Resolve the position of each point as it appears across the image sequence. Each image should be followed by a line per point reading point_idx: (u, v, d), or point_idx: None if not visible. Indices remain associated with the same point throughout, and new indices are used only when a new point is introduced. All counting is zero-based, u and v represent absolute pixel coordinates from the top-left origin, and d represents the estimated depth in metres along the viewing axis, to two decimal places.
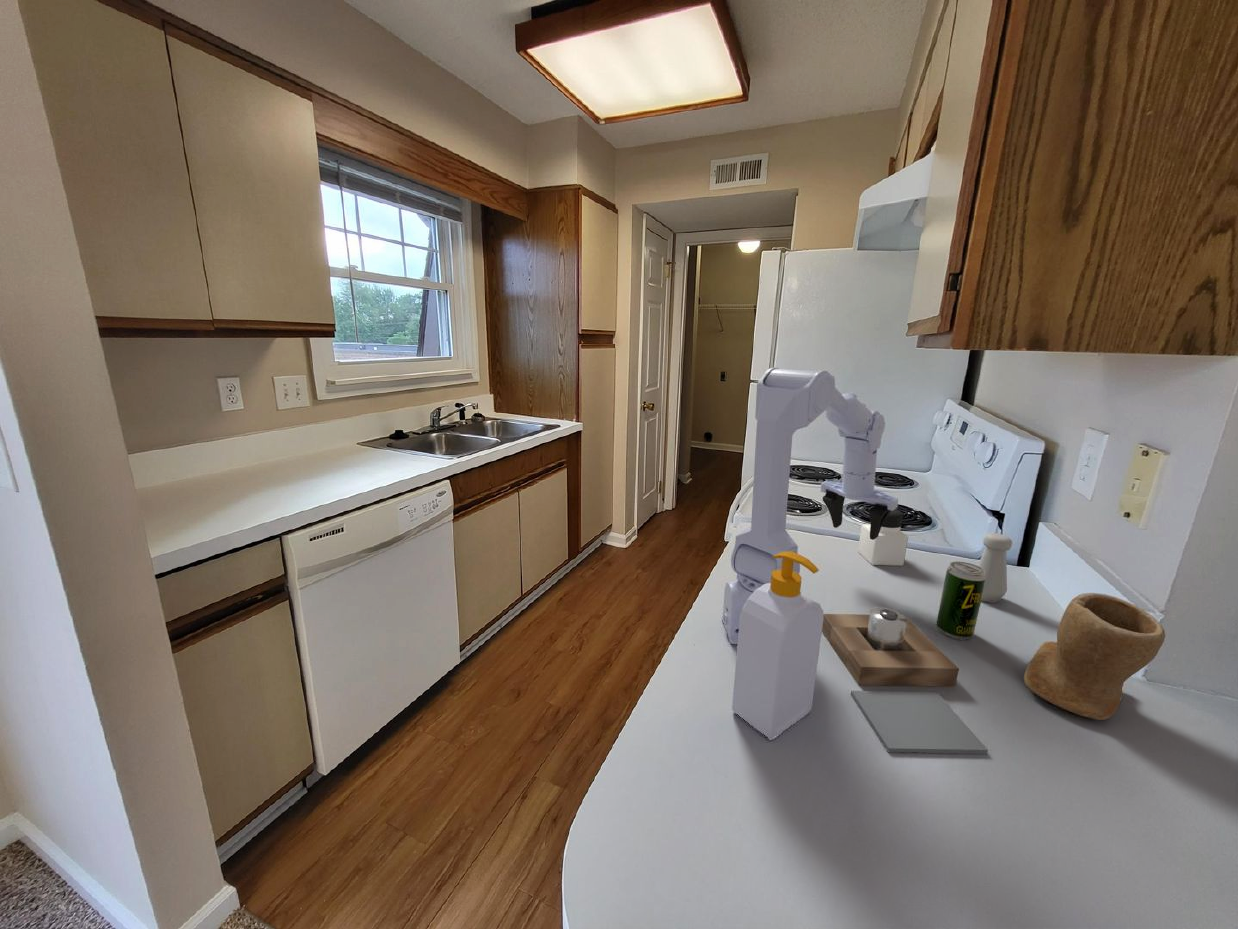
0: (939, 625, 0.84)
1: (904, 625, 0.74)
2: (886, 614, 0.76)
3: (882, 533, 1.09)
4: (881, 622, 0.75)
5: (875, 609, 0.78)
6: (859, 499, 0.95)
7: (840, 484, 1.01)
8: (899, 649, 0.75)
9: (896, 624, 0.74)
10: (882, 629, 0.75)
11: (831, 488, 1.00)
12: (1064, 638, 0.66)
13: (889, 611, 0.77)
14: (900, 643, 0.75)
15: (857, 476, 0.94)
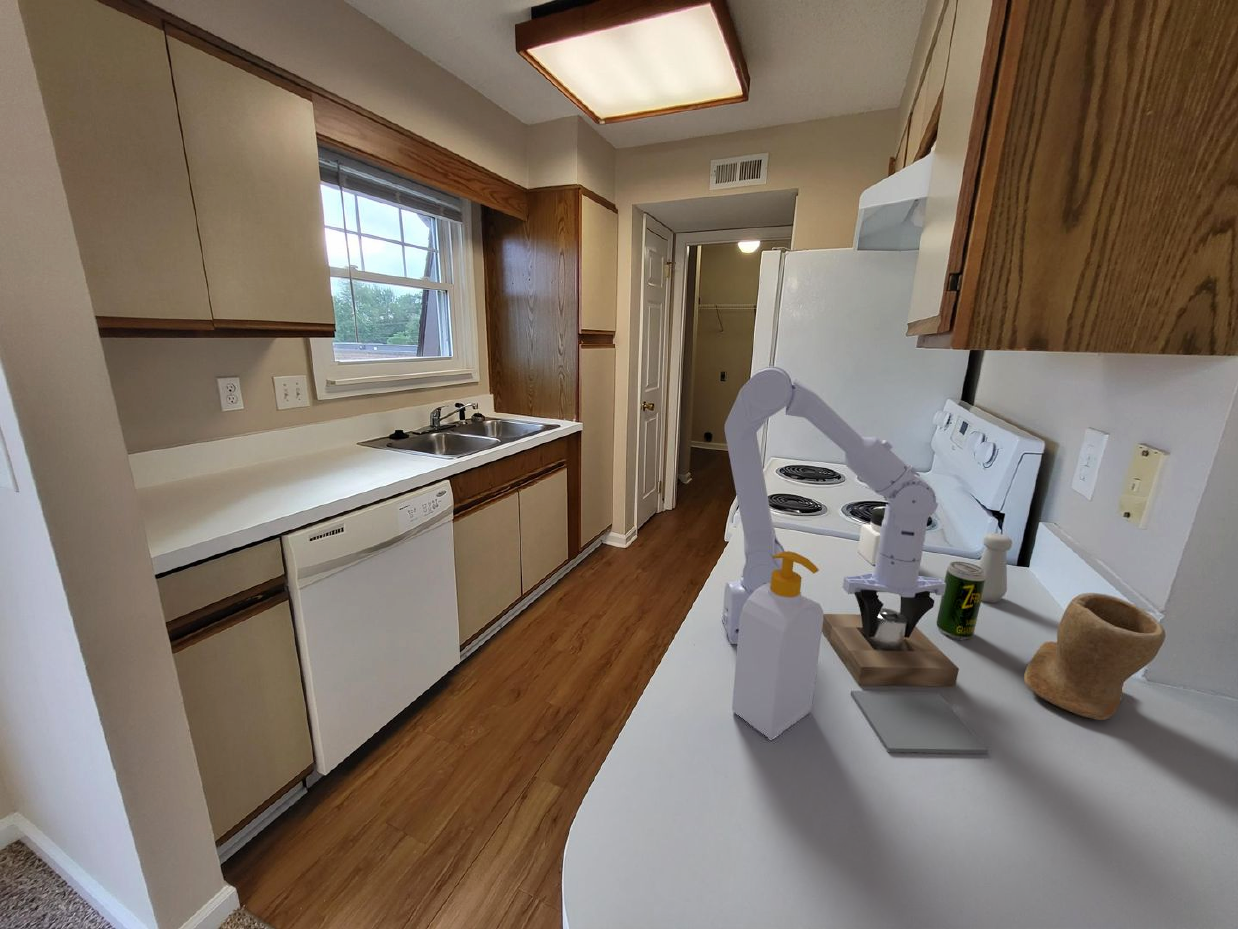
0: (939, 625, 0.84)
1: (904, 625, 0.74)
2: (886, 614, 0.76)
3: None
4: (881, 622, 0.75)
5: None
6: None
7: None
8: (899, 649, 0.75)
9: (896, 623, 0.74)
10: (882, 629, 0.75)
11: None
12: (1064, 638, 0.66)
13: (889, 611, 0.77)
14: (900, 643, 0.75)
15: None
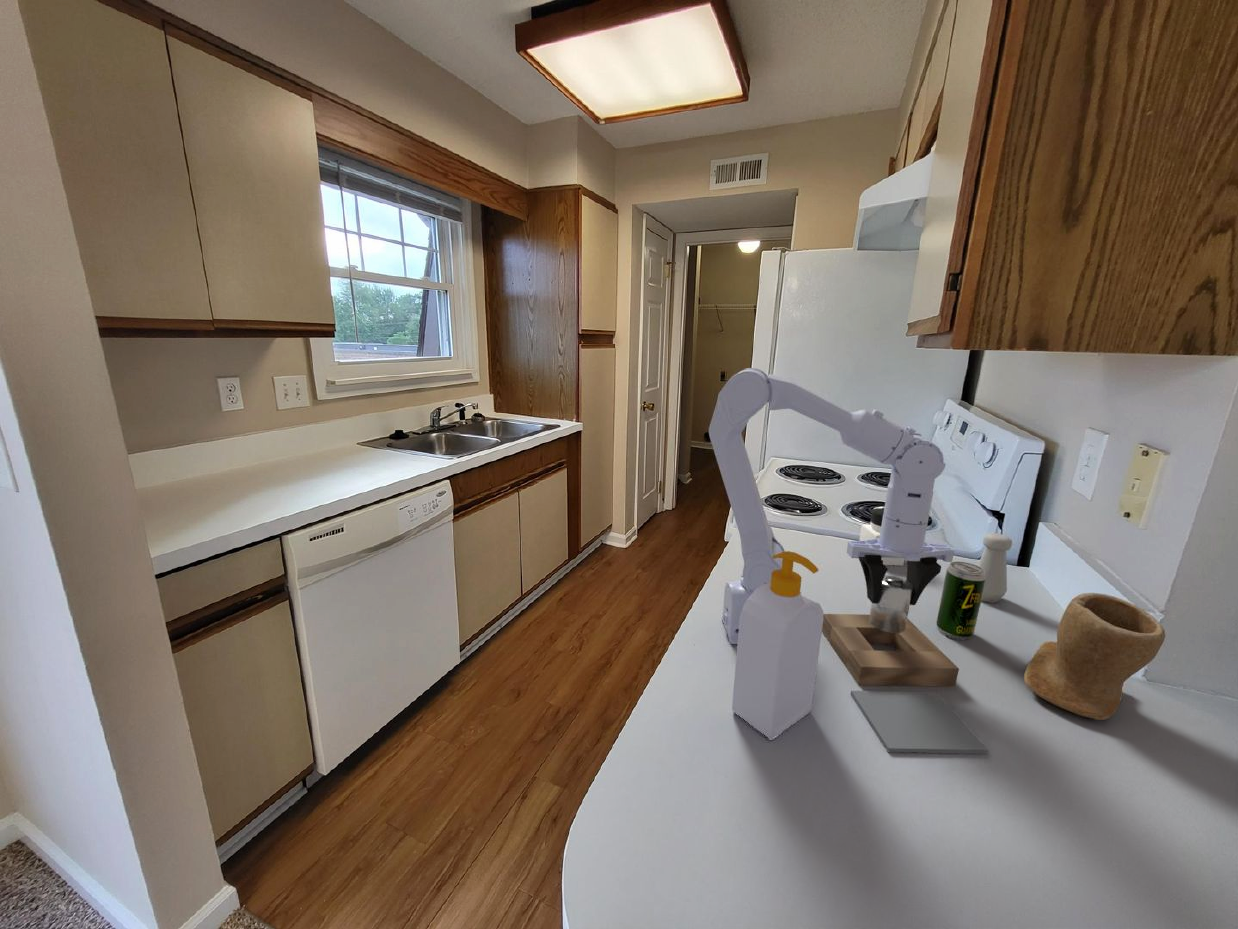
0: (939, 625, 0.84)
1: (909, 591, 0.73)
2: (891, 580, 0.74)
3: None
4: (886, 588, 0.73)
5: None
6: None
7: None
8: (904, 616, 0.74)
9: (901, 589, 0.73)
10: (886, 594, 0.73)
11: None
12: (1064, 638, 0.66)
13: (895, 578, 0.75)
14: (905, 609, 0.73)
15: None
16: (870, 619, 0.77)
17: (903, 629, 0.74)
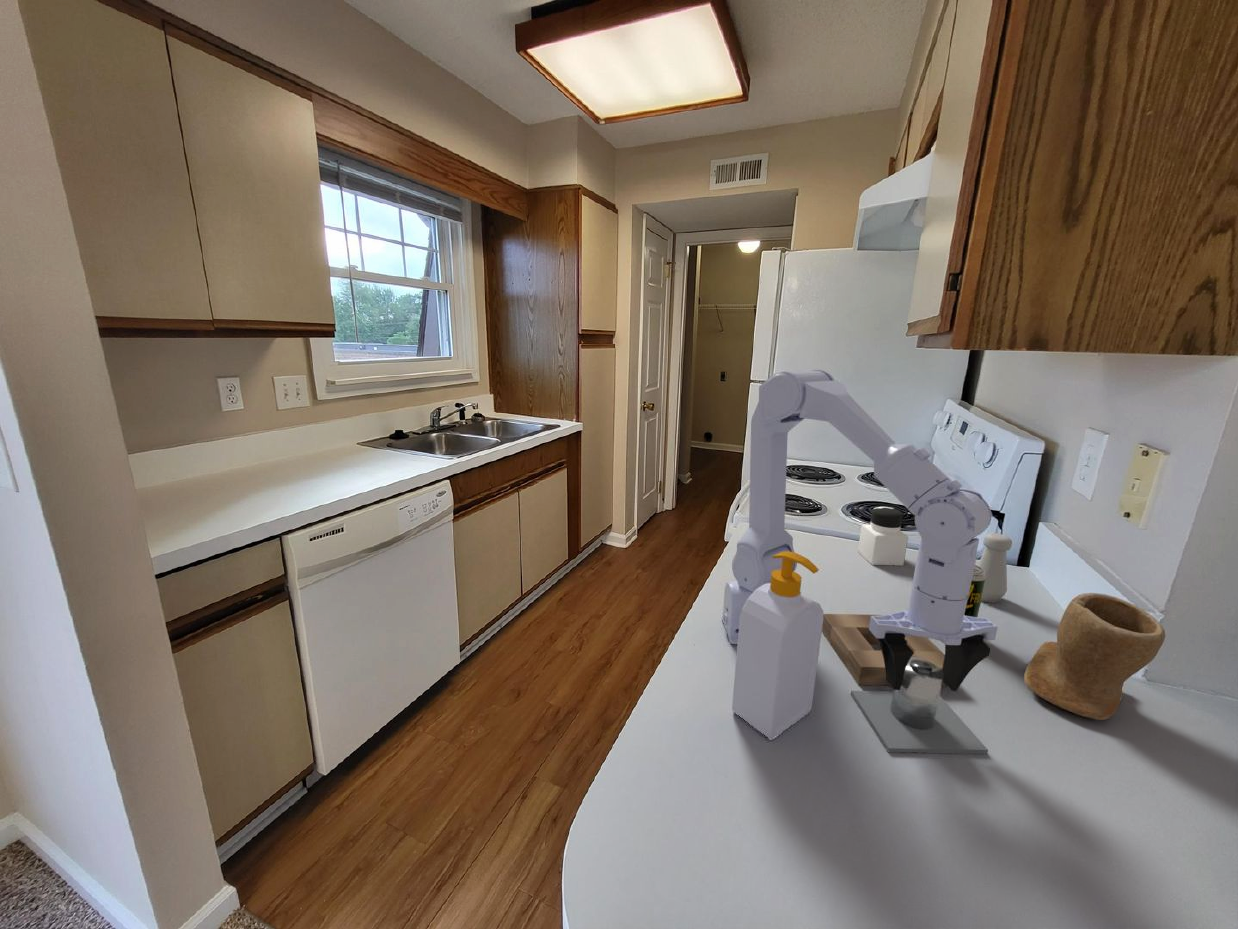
0: None
1: (940, 682, 0.61)
2: (918, 666, 0.63)
3: (882, 533, 1.09)
4: (911, 677, 0.61)
5: None
6: None
7: None
8: (933, 710, 0.62)
9: (930, 680, 0.61)
10: (912, 685, 0.62)
11: None
12: (1064, 638, 0.66)
13: (922, 662, 0.63)
14: (935, 703, 0.62)
15: None
16: (892, 709, 0.65)
17: (932, 724, 0.63)
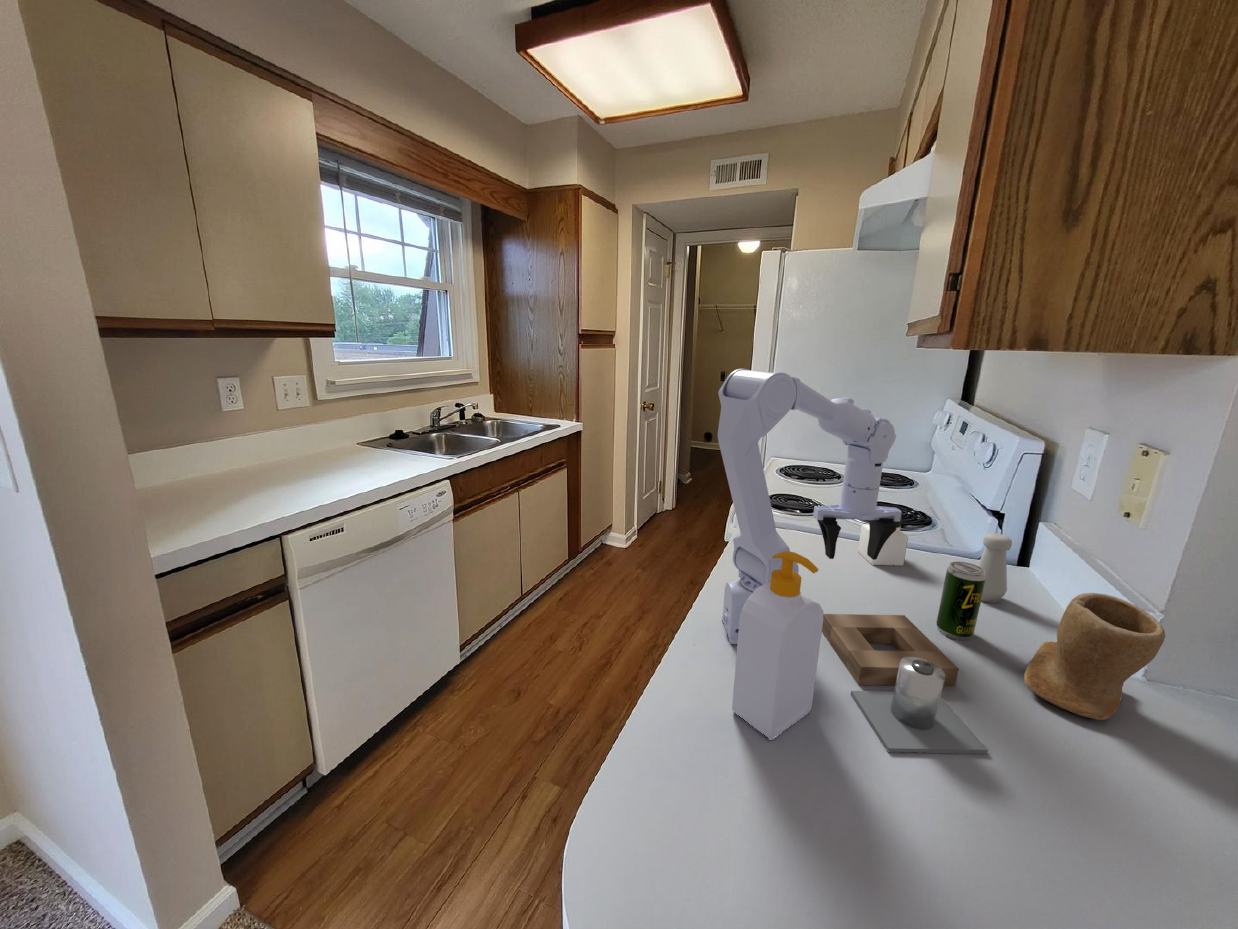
0: (939, 625, 0.84)
1: (941, 682, 0.61)
2: (919, 667, 0.62)
3: None
4: (912, 677, 0.61)
5: (907, 658, 0.65)
6: None
7: None
8: (934, 710, 0.62)
9: (931, 680, 0.61)
10: (913, 684, 0.62)
11: None
12: (1064, 638, 0.66)
13: (924, 663, 0.63)
14: (935, 703, 0.61)
15: None
16: (892, 708, 0.65)
17: (932, 725, 0.62)
